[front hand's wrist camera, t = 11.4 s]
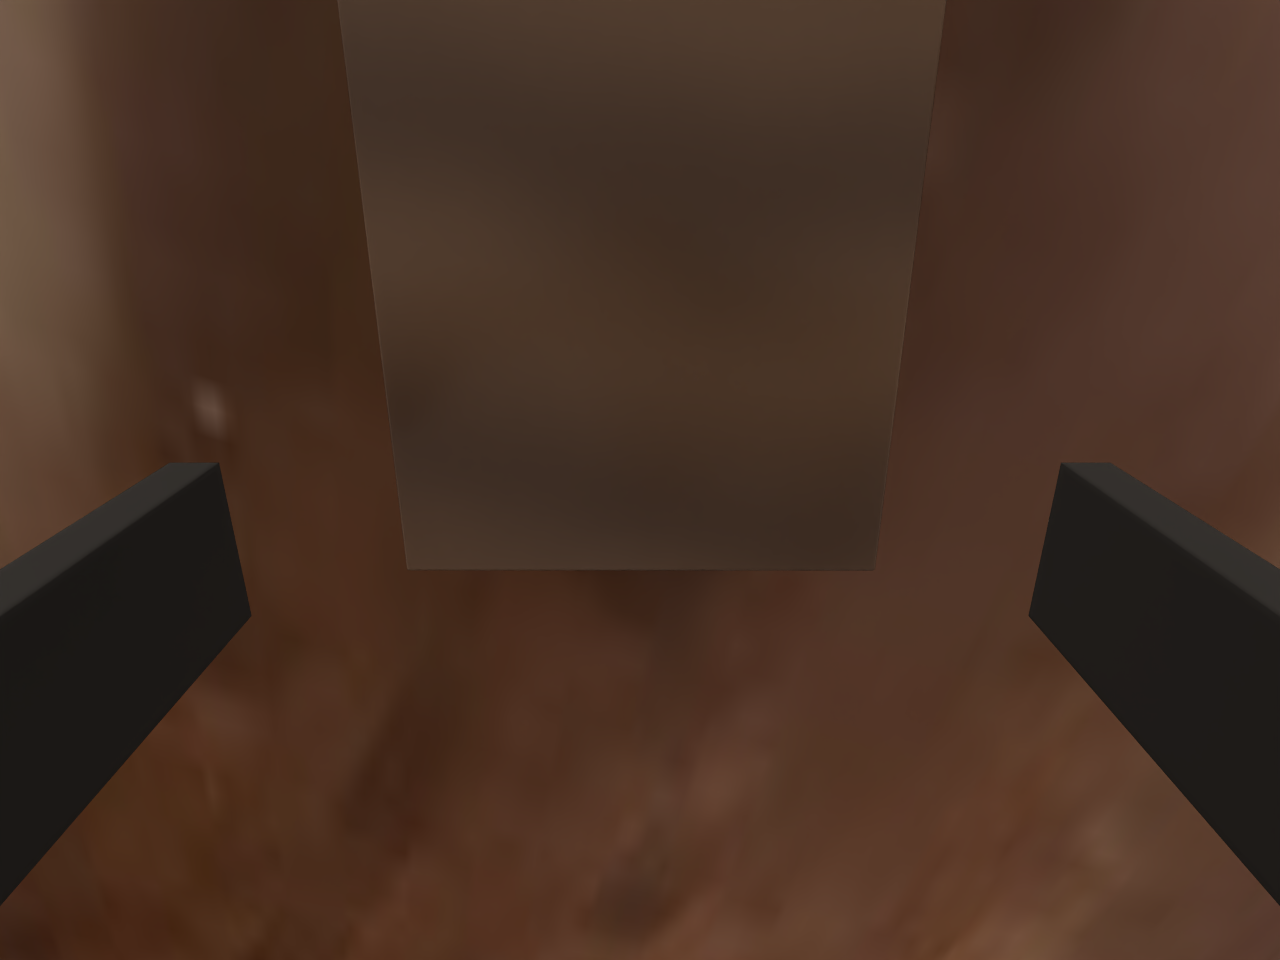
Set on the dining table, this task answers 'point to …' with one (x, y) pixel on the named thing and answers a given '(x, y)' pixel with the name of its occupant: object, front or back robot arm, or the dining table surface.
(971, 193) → the dining table surface
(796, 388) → the taupe rectangular block
